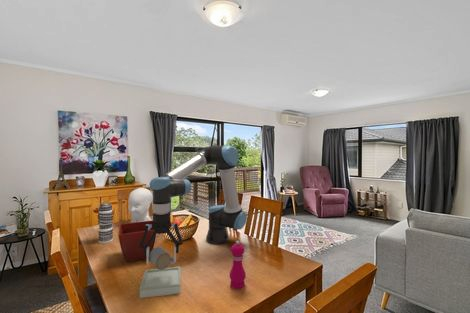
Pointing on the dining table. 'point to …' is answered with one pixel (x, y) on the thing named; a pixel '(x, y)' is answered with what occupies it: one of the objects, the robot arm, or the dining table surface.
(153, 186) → the robot arm
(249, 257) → the dining table surface
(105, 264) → the dining table surface
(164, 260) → the ceramic mug
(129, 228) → the plant pot
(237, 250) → the pepper mill
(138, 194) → the head sculpture
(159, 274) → the display plinth
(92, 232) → the dining table surface
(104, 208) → the decorative candle
